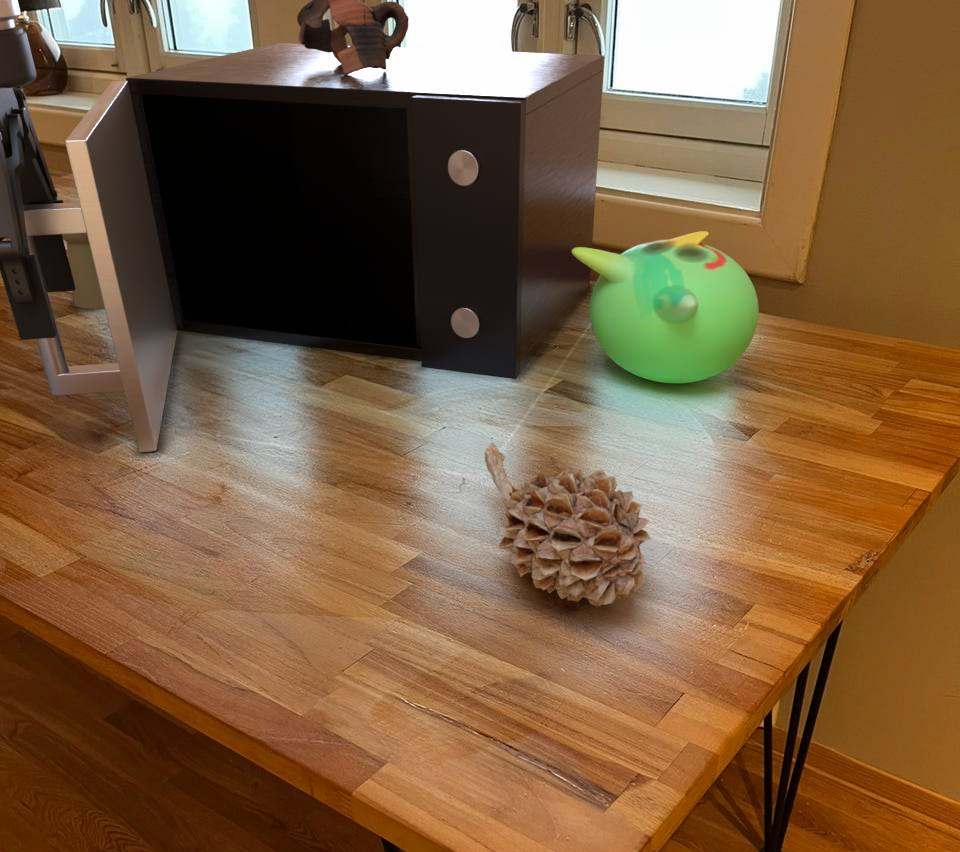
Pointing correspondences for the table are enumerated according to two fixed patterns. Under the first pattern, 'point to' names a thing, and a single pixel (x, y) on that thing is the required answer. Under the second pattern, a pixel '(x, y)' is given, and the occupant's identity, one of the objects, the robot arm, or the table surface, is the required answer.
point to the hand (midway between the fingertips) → (49, 312)
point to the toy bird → (671, 308)
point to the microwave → (375, 198)
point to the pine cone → (572, 532)
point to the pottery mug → (353, 31)
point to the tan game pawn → (83, 271)
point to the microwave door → (114, 264)
